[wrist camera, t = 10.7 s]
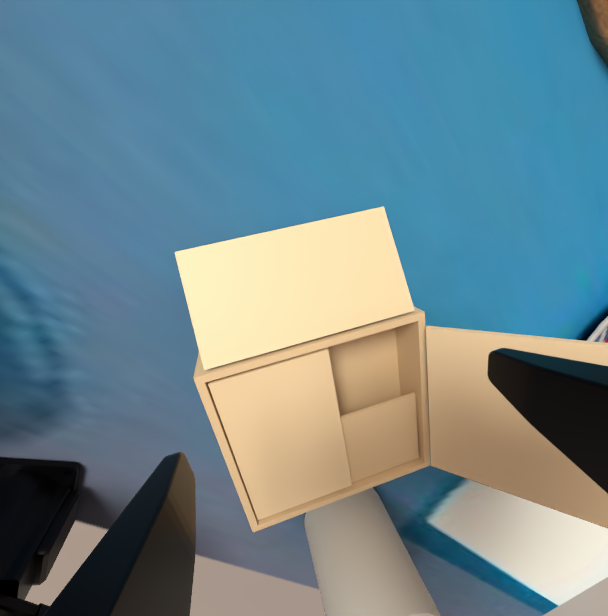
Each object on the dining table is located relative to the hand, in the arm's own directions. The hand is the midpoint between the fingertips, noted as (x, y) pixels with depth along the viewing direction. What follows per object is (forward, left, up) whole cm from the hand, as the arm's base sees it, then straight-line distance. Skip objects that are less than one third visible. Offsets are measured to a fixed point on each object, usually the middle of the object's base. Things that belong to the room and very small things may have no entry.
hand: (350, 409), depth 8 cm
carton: (+4, -5, -13) cm, 15 cm away
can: (+12, -19, -13) cm, 26 cm away
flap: (+12, -4, -9) cm, 16 cm away
